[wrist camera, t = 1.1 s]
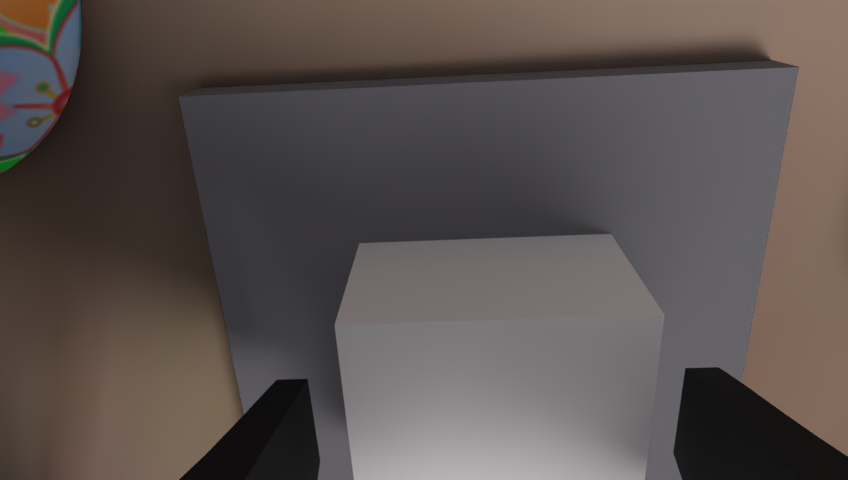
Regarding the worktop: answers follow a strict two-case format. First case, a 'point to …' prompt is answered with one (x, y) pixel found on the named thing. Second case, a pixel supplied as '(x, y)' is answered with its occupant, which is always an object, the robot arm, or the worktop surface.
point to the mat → (488, 202)
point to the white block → (498, 360)
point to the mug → (35, 71)
